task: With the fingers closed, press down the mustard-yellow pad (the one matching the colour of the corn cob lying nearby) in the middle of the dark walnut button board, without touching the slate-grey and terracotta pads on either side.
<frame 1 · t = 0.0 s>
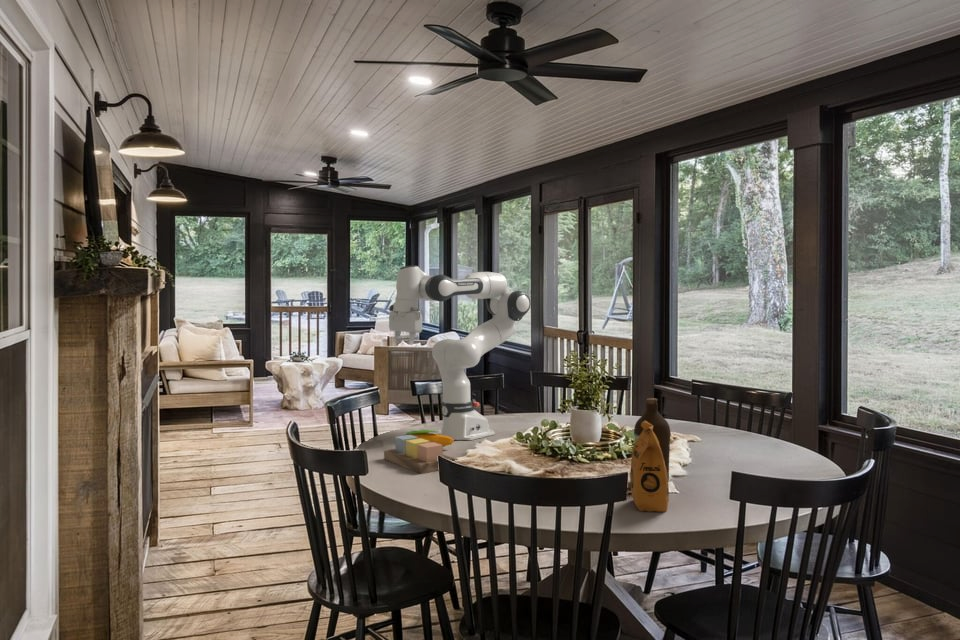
hand: (404, 343, 271), 39 cm above the table, tool pointing down, fingers open, 8 cm apart
coffee package: (649, 506, 191), on the table
corn: (427, 450, 264), on the table
olive oil: (652, 481, 215), on the table
button board: (418, 463, 244), on the table
pad slate: (406, 444, 250), point 5 cm above the table, slide at 0.0 cm
pad terracotta: (430, 452, 237), point 5 cm above the table, slide at 0.0 cm
pad mustard: (418, 448, 243), point 5 cm above the table, slide at 0.0 cm
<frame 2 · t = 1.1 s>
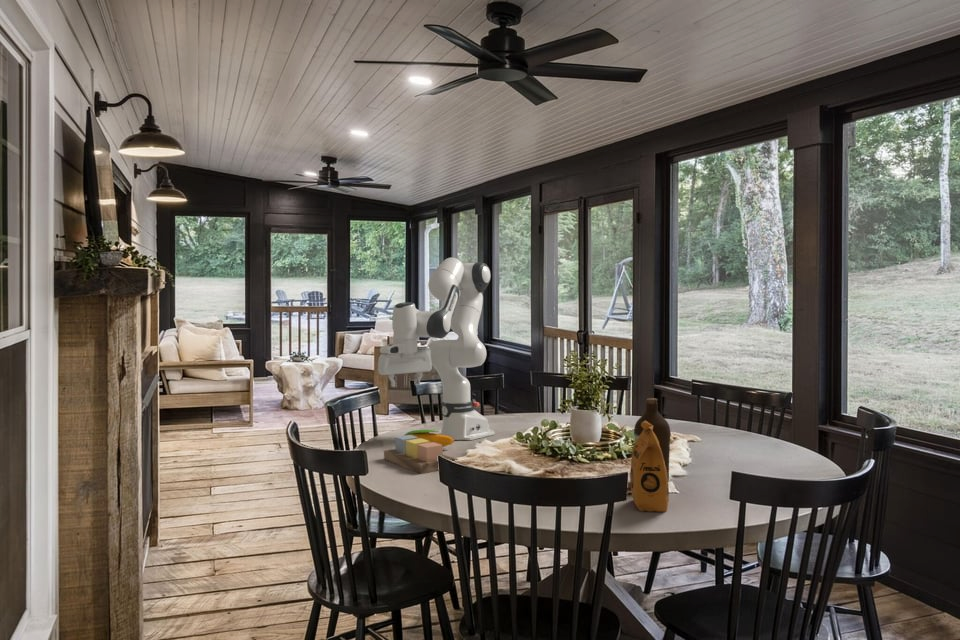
hand: (405, 385, 257), 25 cm above the table, tool pointing down, fingers open, 8 cm apart
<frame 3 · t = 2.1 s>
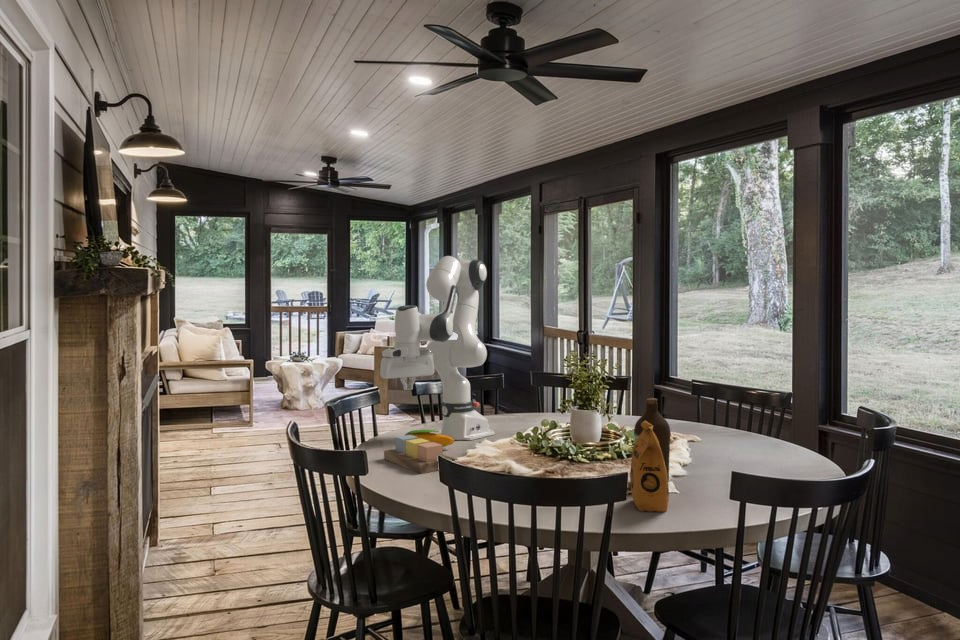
hand: (408, 389, 253), 24 cm above the table, tool pointing down, fingers closed
nothing on the table moved.
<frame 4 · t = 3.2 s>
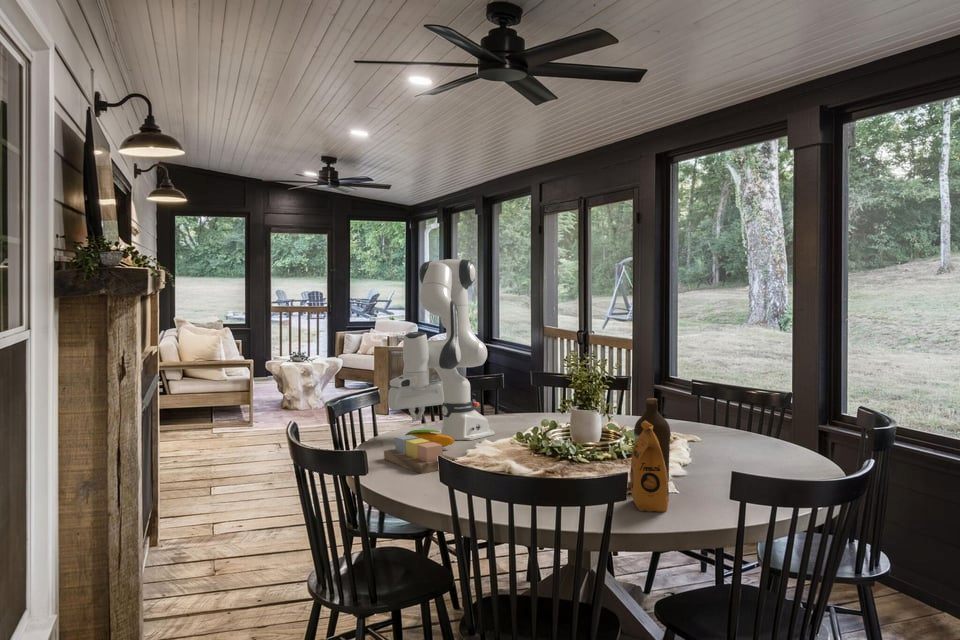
hand: (417, 420, 243), 15 cm above the table, tool pointing down, fingers closed
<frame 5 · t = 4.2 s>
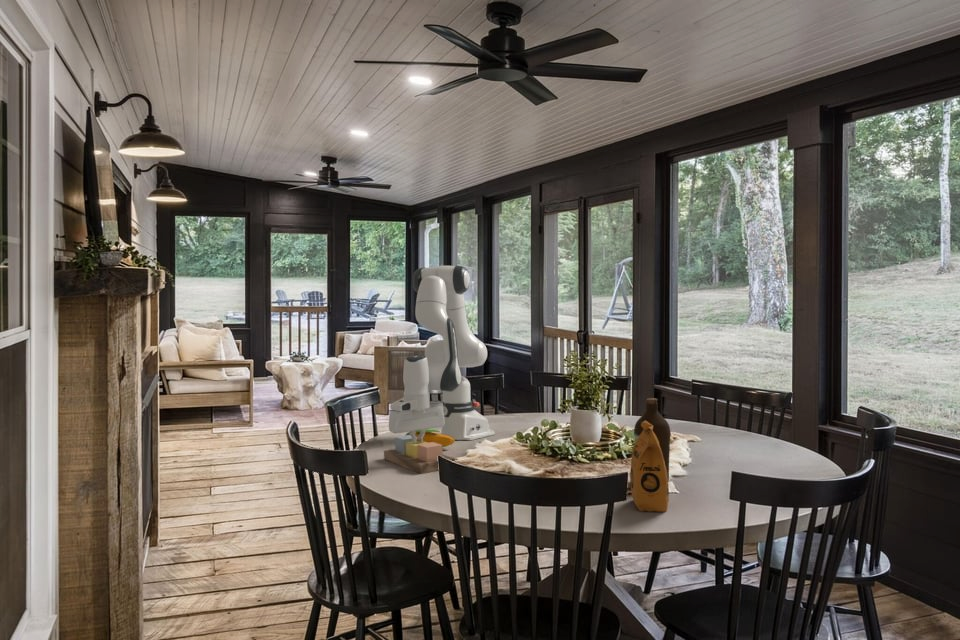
hand: (417, 443, 243), 7 cm above the table, tool pointing down, fingers closed, pressing on pad mustard
pad mustard: (418, 450, 243), point 4 cm above the table, slide at 0.8 cm, touching gripper
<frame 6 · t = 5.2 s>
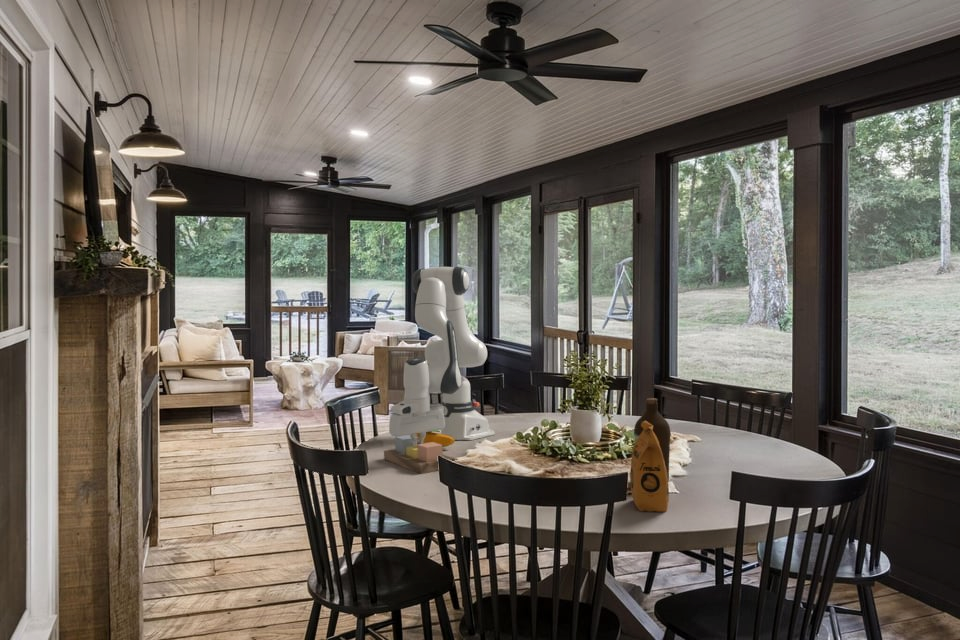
hand: (418, 445, 244), 6 cm above the table, tool pointing down, fingers closed
pad mustard: (418, 454, 243), point 3 cm above the table, slide at 2.3 cm
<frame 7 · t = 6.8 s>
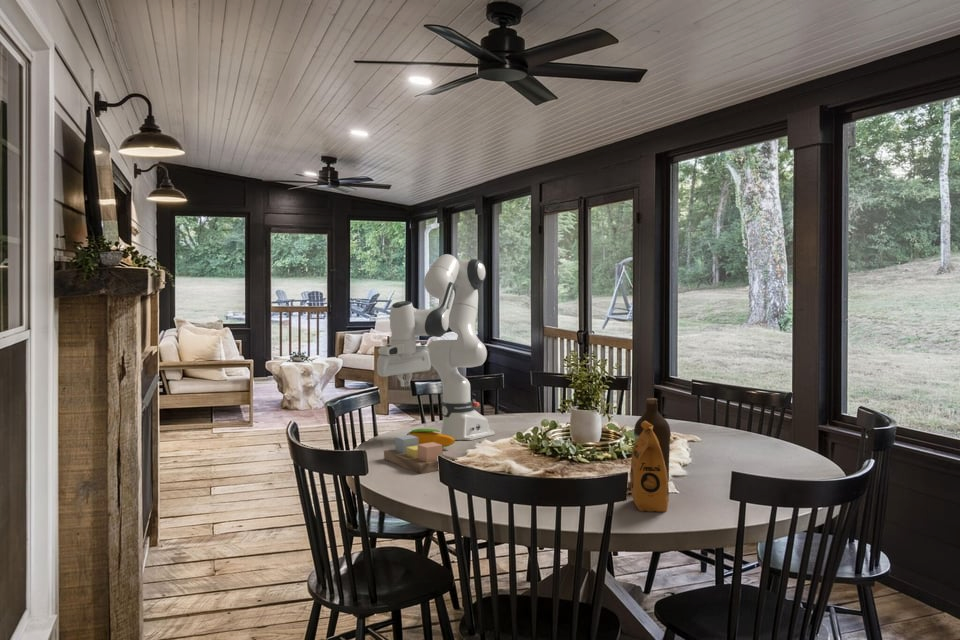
hand: (405, 386, 253), 25 cm above the table, tool pointing down, fingers closed
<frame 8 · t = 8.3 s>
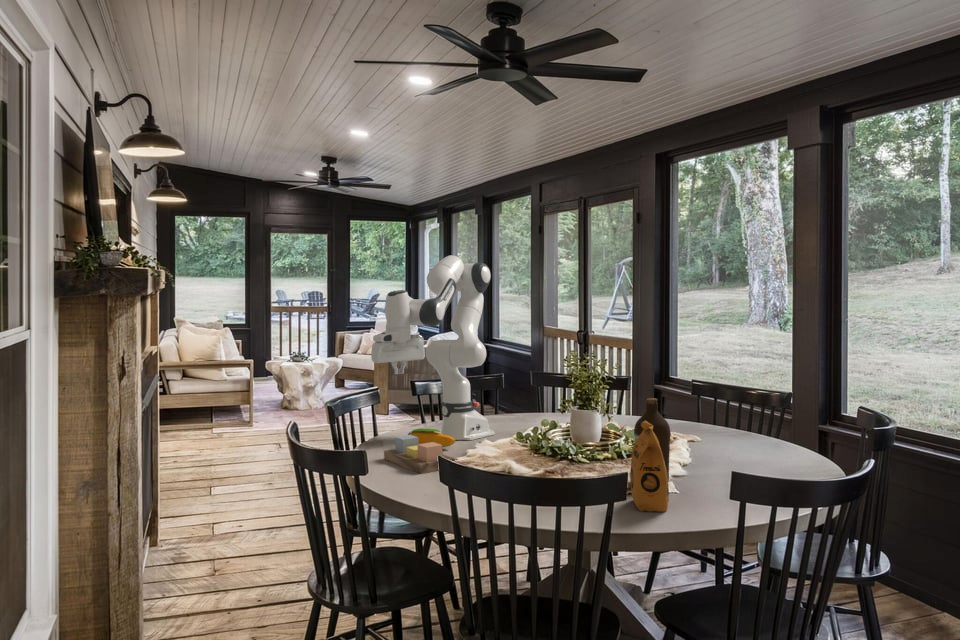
hand: (399, 373, 257), 29 cm above the table, tool pointing down, fingers closed
at the end: pad mustard slide at 2.3 cm; pad slate slide at 0.0 cm; pad terracotta slide at 0.0 cm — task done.
